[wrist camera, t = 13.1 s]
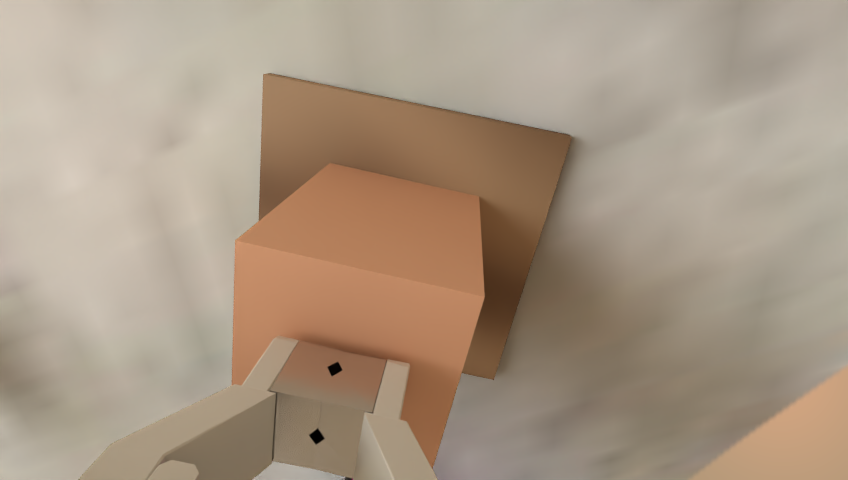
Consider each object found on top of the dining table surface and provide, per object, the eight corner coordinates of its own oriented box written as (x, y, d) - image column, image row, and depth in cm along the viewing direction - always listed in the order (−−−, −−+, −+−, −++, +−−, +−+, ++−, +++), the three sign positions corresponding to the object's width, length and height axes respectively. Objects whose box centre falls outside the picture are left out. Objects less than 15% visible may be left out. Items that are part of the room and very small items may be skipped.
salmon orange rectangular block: (479, 196, 15) (484, 296, 9) (445, 321, 17) (431, 469, 11) (329, 162, 15) (235, 240, 9) (315, 291, 17) (230, 423, 11)
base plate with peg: (493, 371, 18) (503, 515, 13) (260, 321, 19) (168, 441, 13) (568, 134, 14) (632, 191, 9) (269, 73, 14) (140, 89, 9)
